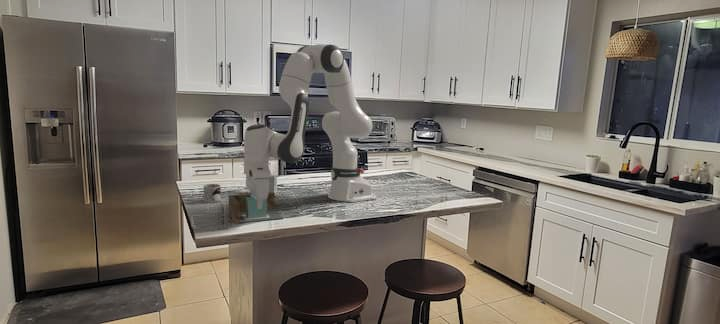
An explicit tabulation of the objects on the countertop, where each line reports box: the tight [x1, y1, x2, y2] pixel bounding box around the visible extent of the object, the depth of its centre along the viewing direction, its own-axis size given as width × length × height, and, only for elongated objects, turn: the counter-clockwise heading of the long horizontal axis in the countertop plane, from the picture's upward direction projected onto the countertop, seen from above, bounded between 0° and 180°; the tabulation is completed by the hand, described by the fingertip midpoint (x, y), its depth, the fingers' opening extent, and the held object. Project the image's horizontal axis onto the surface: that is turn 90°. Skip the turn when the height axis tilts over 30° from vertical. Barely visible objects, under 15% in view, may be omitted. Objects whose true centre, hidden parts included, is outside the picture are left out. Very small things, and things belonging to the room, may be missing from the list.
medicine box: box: [268, 174, 278, 194], centre depth 191 cm, size 8×4×9 cm, turn 84°
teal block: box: [246, 197, 267, 218], centre depth 155 cm, size 4×7×7 cm, turn 117°
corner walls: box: [228, 192, 276, 224], centre depth 157 cm, size 18×14×7 cm
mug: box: [203, 183, 222, 204], centre depth 176 cm, size 10×7×7 cm, turn 170°
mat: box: [239, 209, 284, 224], centre depth 157 cm, size 16×12×1 cm
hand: (256, 205), depth 155 cm, fingers open, 8 cm apart
